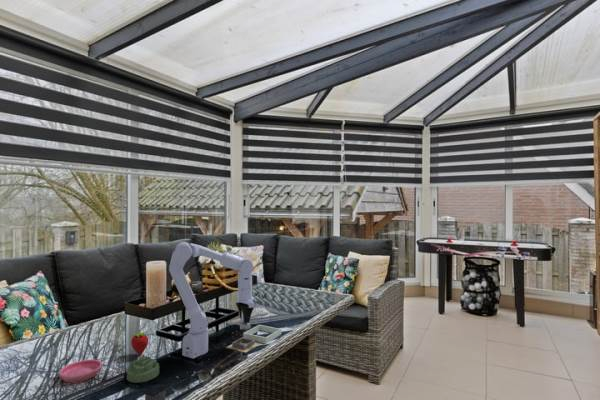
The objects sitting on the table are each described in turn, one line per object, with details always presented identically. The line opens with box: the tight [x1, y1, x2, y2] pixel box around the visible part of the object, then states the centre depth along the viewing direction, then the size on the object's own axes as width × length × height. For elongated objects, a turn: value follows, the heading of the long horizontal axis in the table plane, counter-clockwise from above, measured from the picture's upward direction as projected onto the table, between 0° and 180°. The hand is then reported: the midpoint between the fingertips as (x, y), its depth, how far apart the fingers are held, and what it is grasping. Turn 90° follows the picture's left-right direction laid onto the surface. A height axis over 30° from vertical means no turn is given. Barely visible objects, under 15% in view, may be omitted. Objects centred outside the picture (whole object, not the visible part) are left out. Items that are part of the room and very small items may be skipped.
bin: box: [242, 324, 282, 344], centre depth 147 cm, size 12×12×3 cm
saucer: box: [58, 359, 103, 384], centre depth 114 cm, size 12×12×3 cm
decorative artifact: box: [126, 353, 160, 384], centre depth 115 cm, size 10×7×10 cm
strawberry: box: [130, 329, 149, 356], centre depth 130 cm, size 6×8×10 cm
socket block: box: [225, 336, 262, 353], centre depth 137 cm, size 10×10×2 cm
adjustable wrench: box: [227, 309, 269, 326], centre depth 175 cm, size 25×6×2 cm, turn 133°
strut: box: [239, 313, 251, 331], centre depth 138 cm, size 4×4×8 cm
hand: (245, 321), depth 138 cm, fingers closed on strut, 3 cm apart
